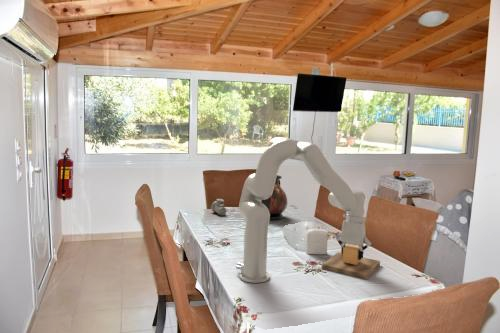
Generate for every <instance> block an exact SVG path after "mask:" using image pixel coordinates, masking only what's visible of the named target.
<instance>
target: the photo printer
mask: <svg viewBox="0 0 500 333" xmlns="http://www.w3.org/2000/svg"><path fill="white" fill-rule="evenodd" d="M328 239H329V238H328V231H327V230H326V229H322V228H311V229H309V230H307V231H306V243H305V246H306V249H305V254H307V255H327V254H328Z"/></svg>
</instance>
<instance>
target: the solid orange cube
mask: <svg viewBox="0 0 500 333" xmlns="http://www.w3.org/2000/svg"><path fill="white" fill-rule="evenodd" d="M359 251H360V249H359V246H357V245H352V244H346V245H345V247H344V248H343V260H342V262H346V263H350V264H354V265H357V264H358V263H359V262H360V261H361V260H359V259H358V256H359Z"/></svg>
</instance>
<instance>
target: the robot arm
mask: <svg viewBox="0 0 500 333" xmlns="http://www.w3.org/2000/svg"><path fill="white" fill-rule="evenodd" d="M267 146H268V148H266V150H264V152H263V153H261V156H260V157H259V159H258V163H257V168H256V171H255V173H254V172H253V173H252V174H251V173H250V174H249V175H248V177H247V178H245V181H244V183H243V186H242V190H241V196H240V199H239V204H238V212H239V215H240V216H241V217H242V219H244V220H245V226H244V234H243V262H239V261H238V262H237V263H236V266H235V269H237V270H240V272H239V274H238V275H239V278H240V280H241V281H243V282H246V283H250V284H251V283H252V284H259V283H265V282H267V281H269V280H270V279H271V278H270V277H271V274H270V273H269V272H268V271H267V259H268V257H267V256H268V235H269V234H268V232H269V225H270V221H271V220H270V213H269V210H268V208H267V207H266V206H265V205H264V204H263V203H261V201H262V200H265V199H268V198H269V197H270V196H271V195H272V193H273V189H274V185H275V181H276V177H277V175H278V173H279V169H280V167H281V165H282V164H283V163H284V162H286V161H287V160H295V161H300V162H303V163H304V164H305V166H306V168H307V169H308V171H309V172H310V174H311V175H312V177H313V178H314V180H315V181H316V182H317V183H318V184H320V185H321V186H322V187H324V188H326V190H328V191H329V192H330V193H329V194H328V197H327V199H328V202H329V204H330V205H331V206H333V207H335V208H338V209H340V210H342V211H345V213H343V214H342V217H343V218H345V219H344V220H343V222H342V226H341V230H340V232H341V233H340V234H338V235H337V236H335V240H336V242H338V244H339V245H340V248H341V251H340V253H342V256H343V248H344V247H345V246H346V245H348V244H350V245H355V246H359V249H360V251H359V256H358V259H359V260H361V259H362V258H363V257H364V251H365V250H366V249H367V248H369V247H370V246H371V245H372V242H371V241H370V240H369V239H368V238H367V236H366V226H365V224H366V223H365V221H364V211H365V198H366V195H365V192H364V191H361V190H356V189H355V190H353V189H351V187H350V186H349V184H347V182H346V181H345V180H344V179H343V178H342V177H341V176H340V175H339V174H338V172H336V171H335V170H334V168H333V167H332V166H331V164H330V162H329V161H328V159H327V158H326V157H325V155H324V153H323V152H322V151H321V148H320V147H319V146H318V145H317V144H316V143H314V142H309V141H302V140H295V139H293V138H289V137H282V136H276V137H273V138H272V139H270V141H269V143H268V144H267ZM364 244H365V245H364Z"/></svg>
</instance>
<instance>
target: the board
mask: <svg viewBox="0 0 500 333" xmlns="http://www.w3.org/2000/svg"><path fill="white" fill-rule="evenodd" d="M342 260H343V256H342V253H341V251H338V252H336V253H335V254H333V256H331V257H329V258H328V259H327V260H326V261H324V262H323V263H322V264H321V269H323V270H326V271H330V272H334V273H337V274H342V275H348V276H350V277H351V276H352V277H355V278H359V279H364V280H368V279H369V278H370V277H371V276H372V275H373V274H374V272H375V271H376V270H377V269H378V268H379V267H380V265H381V260H377V259H373V258H372V259H371V258H367V257H364V256H363V258H362V259H361V261H360V262H359V263H358V264H357V265H354V264H350V263H346V262H342Z"/></svg>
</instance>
